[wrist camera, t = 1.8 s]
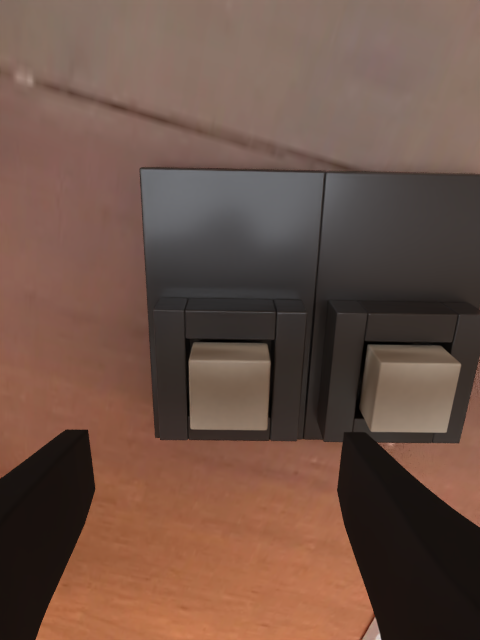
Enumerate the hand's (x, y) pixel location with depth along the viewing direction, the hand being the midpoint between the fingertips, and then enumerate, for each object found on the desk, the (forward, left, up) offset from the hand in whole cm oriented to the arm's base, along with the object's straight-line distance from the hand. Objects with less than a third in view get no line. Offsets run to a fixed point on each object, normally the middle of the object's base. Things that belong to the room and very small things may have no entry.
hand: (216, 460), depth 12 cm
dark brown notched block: (+2, -7, -9) cm, 12 cm away
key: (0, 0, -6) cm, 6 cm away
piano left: (+2, 0, -9) cm, 10 cm away
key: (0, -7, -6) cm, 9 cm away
